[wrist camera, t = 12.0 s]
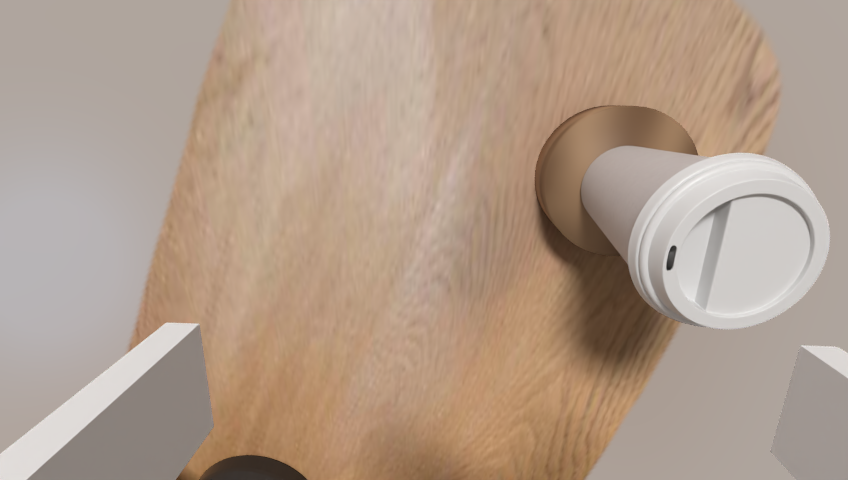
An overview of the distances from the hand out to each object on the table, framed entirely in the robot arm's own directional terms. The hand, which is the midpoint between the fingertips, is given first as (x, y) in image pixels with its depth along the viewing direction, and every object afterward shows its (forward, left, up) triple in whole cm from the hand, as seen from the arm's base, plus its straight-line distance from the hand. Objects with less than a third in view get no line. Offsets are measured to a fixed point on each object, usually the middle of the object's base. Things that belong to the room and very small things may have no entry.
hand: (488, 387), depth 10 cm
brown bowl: (+13, 0, -33) cm, 35 cm away
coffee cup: (+13, 0, -28) cm, 31 cm away
